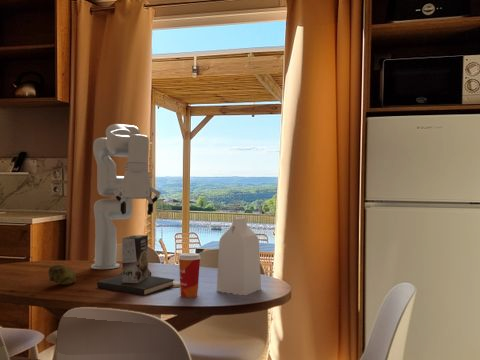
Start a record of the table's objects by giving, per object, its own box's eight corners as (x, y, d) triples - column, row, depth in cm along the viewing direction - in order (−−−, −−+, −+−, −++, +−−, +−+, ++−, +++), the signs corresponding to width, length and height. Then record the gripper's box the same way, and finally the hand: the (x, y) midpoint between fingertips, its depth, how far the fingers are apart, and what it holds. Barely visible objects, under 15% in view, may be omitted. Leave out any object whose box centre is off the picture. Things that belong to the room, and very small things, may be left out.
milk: (244, 295, 144) (244, 219, 145) (216, 291, 150) (217, 218, 151) (261, 289, 154) (261, 217, 155) (234, 285, 160) (235, 216, 161)
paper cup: (178, 293, 147) (178, 252, 147) (200, 292, 147) (201, 252, 148) (176, 298, 139) (177, 256, 139) (200, 298, 140) (200, 256, 140)
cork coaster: (166, 282, 163) (166, 281, 163) (187, 283, 163) (187, 281, 163) (163, 287, 155) (163, 286, 155) (184, 287, 155) (184, 286, 155)
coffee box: (138, 283, 150) (138, 238, 150) (121, 282, 152) (121, 238, 152) (149, 277, 159) (148, 234, 159) (133, 277, 161) (132, 234, 160)
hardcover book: (129, 278, 168) (129, 272, 168) (174, 285, 156) (174, 279, 156) (96, 287, 154) (96, 281, 154) (143, 296, 142) (143, 289, 142)
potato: (84, 282, 162) (85, 261, 162) (56, 289, 151) (56, 267, 151) (69, 280, 166) (70, 260, 166) (40, 286, 154) (41, 264, 155)
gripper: (111, 167, 153) (110, 214, 153) (159, 168, 153) (158, 215, 153) (117, 167, 160) (116, 212, 160) (162, 169, 160) (161, 214, 160)
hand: (136, 214), depth 157 cm, fingers open, 9 cm apart
